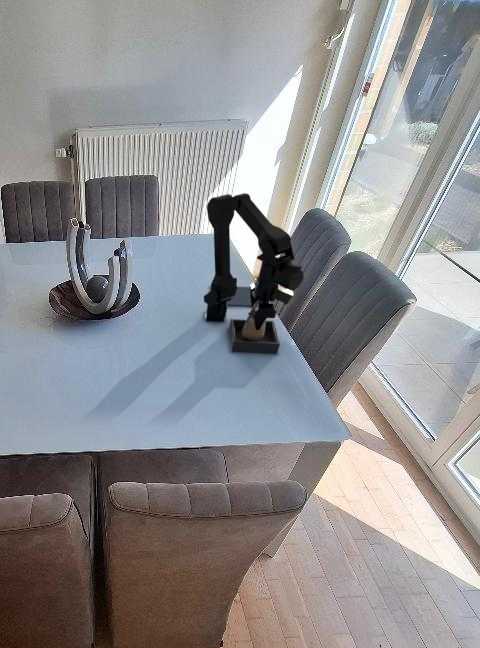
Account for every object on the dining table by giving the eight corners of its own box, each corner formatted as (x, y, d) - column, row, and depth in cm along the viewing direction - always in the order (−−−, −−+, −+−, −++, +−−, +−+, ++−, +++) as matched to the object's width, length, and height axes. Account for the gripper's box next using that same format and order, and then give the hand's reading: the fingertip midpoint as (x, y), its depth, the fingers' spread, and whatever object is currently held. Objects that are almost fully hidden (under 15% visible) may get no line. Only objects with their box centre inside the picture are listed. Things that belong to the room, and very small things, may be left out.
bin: (231, 351, 151) (233, 341, 149) (228, 329, 161) (230, 318, 158) (276, 354, 150) (280, 343, 147) (271, 331, 160) (274, 320, 157)
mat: (212, 304, 174) (212, 303, 173) (210, 286, 184) (211, 285, 183) (252, 306, 172) (252, 305, 172) (249, 288, 182) (249, 287, 182)
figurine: (255, 327, 157) (264, 294, 149) (267, 338, 153) (277, 304, 144) (237, 331, 156) (245, 298, 147) (249, 342, 151) (258, 308, 142)
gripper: (300, 293, 132) (285, 340, 144) (290, 265, 145) (277, 311, 156) (260, 291, 133) (249, 338, 145) (254, 264, 146) (244, 309, 157)
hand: (256, 324), depth 151 cm, fingers closed on figurine, 7 cm apart
